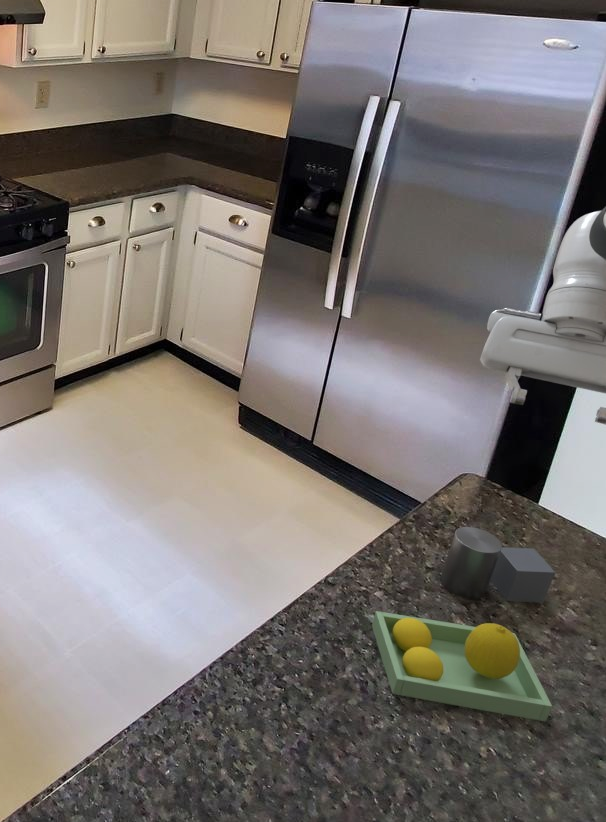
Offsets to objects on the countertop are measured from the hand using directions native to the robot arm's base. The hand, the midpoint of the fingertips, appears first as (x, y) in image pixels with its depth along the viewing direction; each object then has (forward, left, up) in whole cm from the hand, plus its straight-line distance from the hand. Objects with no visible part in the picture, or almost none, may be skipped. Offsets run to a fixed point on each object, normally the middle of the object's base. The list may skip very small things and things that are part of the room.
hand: (558, 412), depth 106 cm
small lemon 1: (+17, +20, -27) cm, 38 cm away
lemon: (+9, +22, -27) cm, 36 cm away
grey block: (0, +4, -27) cm, 28 cm away
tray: (+13, +22, -27) cm, 38 cm away
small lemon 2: (+17, +25, -27) cm, 40 cm away
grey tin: (+7, +5, -27) cm, 29 cm away
